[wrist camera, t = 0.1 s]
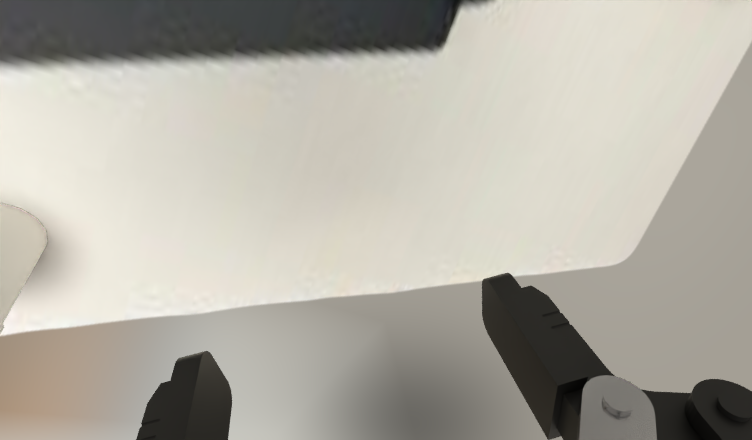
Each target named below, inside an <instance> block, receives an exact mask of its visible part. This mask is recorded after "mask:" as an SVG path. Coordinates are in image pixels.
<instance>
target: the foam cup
mask: <svg viewBox="0 0 752 440" xmlns="http://www.w3.org/2000/svg"><path fill="white" fill-rule="evenodd" d="M47 243H48V240H47V233H46V230H45V228H44V227H43V226H42V224H41V223H40V222H39V220H38V219H37V218H35V217H34V216H32V215H31V214H29V213H27V212H26V211H24V210H23V209H21V208H17V207H13V206H10V205H6V204H2V203H0V333H1V332H2V330H3V328H4V325H3V322H4V320H5V319H6V317H7V315H8V313H9V311H10V310H11V308H12V306H13V304H14V302H15V301H16V299H17V297H18V295H19V294H20V292H21V290H22V288H23V286H24V285H25V283H26V281H27V279H28V277H29V276H30V274H31V272H32V270H33V269H34V267H35V265H36V263H37V261H38V260H39V258H40V256H41V254H42V252H43V251H44V249H45V247H46V245H47Z"/></svg>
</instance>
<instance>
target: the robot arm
mask: <svg viewBox="0 0 752 440" xmlns="http://www.w3.org/2000/svg"><path fill="white" fill-rule="evenodd" d="M482 316H483V321H484V325H485V328H486V330H487V333H488V335H489V336H490V338H491V340H492V342H493V344H494V345H495V347H496V349H497V350H498V352H499V354H500V356H501V357H502V359H503V361H504V363H505V364H506V366H507V368H508V370H509V372H510V373H511V375H512V377H513V379H514V381H515V382H516V384H517V386H518V387H519V389H520V391H521V393H522V394H523V396H524V398H525V400H526V402H527V403H528V405H529V407H530V409H531V410H532V412H533V414H534V416H535V417H536V419H537V421H538V423H539V425H540V426H541V428H542V430H543V431H544V433H545V435H546V437H547V439H548V440H549V439H552V438H556V437H559V436H562V438H563V440H752V391H750V390H748V389H746V388H745V387H742V386H740V385H738V384H735V383H733V382H729V381H725V380H719V379H709V380H704V381H701V382H699V383H698V384H697V385H696V386H695V387H694V389H693V391H692V393H672V392H653V391H646V390H641V389H640V388H638V387H637V386H636V385H634V384H632V383H631V382H629V381H627V380H625V379H622V378H619V377H616V376H614V375H613V374H612V373H611V372H610V371H609V370H608V369H607V368H606V366H604V364H603V363H602V362H601V360H600V359H599V358H598V357H597V356H596V354H595V353H594V352H593V351H592V349H591V348H590V347H589V346H588V345H587V343H586V342H585V341H584V340H583V338H582V337H581V336H580V335H579V333H578V332H577V331H576V330H575V329H574V327H573V326H572V325H570V324H569V321H568V320H567V319H566V318H565V317H564V315H563V314H562V313H560V311H559V309H558V308H557V307H556V305H555V304H554V303H553V302H552V300H551V299H550V298H549V297H548V296H547V295H545V294H544V293H542V292H541V291H539V290H537V289H536V288H534V287H533V286H528V287H524V288H521V287H520V286H519V284H518V283H517V282H516V280H515V279H514V278H513V276H512V275H511V274H509V273H505V274H501V275H497V276H494V277H490V278H486V279H483V281H482ZM231 407H232V395H231V389H230V386H229V383H228V381H227V379H226V378H225V376H224V375H223V373H222V371H221V370H220V368H219V366H218V365H217V363H216V361H215V360H214V358H213V356H212V355H211V354H210V352H208V351H205V352H201V353H197V354H193V355H189V356H185V357H182V358H179V359H178V360H177V361H176V363H175V366H174V370H173V373H172V377H171V381H168V382H165V383H161V384H160V386H159V387H158V389H157V390H156V391H155V393H154V394H153V396H152V397H151V399H150V400H149V402H148V404H147V407H146V410H145V413H144V417H143V420H142V423H141V424H142V427H141V428H140V429H139V433H138V436H137V439H136V440H228V433H229V424H230V416H231Z"/></svg>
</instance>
